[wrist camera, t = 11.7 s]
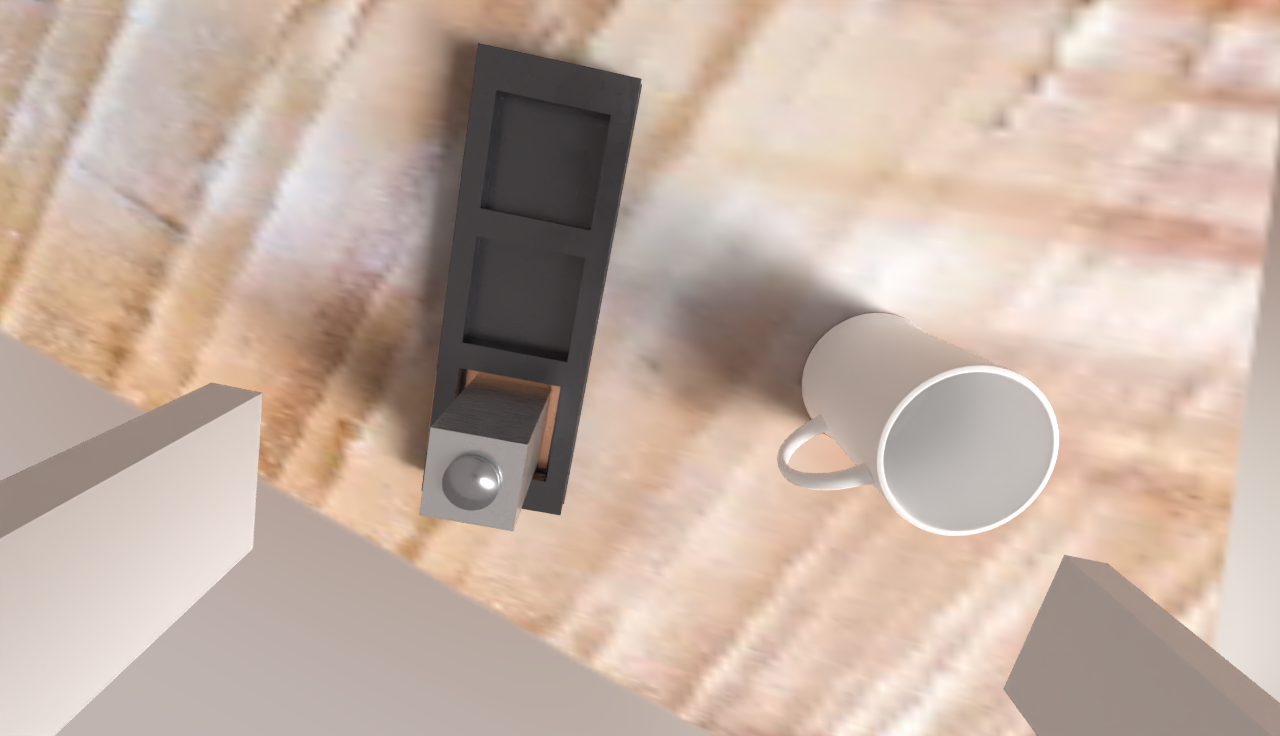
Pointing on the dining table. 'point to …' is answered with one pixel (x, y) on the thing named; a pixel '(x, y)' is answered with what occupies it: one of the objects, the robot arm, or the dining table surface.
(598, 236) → the tray with compartments
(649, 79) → the dining table surface
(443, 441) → the grey block with knob
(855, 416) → the mug
